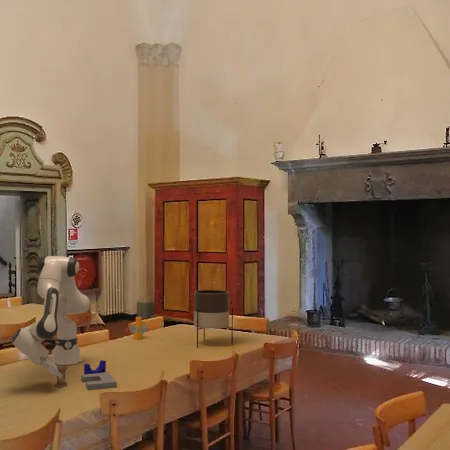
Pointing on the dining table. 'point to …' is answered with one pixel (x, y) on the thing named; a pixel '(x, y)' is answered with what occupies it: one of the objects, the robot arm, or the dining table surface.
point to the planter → (211, 310)
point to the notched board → (98, 381)
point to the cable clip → (100, 369)
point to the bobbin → (61, 380)
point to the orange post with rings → (138, 329)
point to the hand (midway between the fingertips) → (60, 374)
